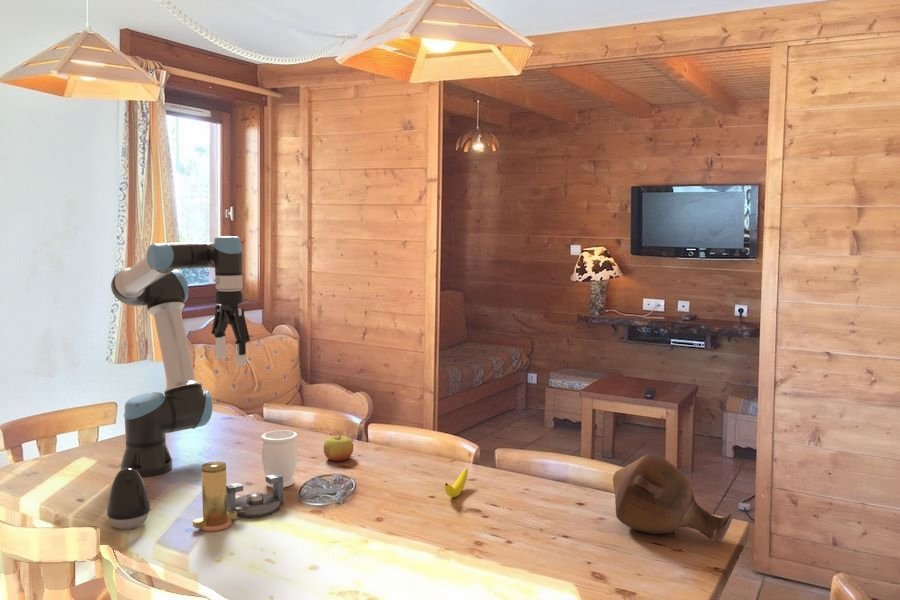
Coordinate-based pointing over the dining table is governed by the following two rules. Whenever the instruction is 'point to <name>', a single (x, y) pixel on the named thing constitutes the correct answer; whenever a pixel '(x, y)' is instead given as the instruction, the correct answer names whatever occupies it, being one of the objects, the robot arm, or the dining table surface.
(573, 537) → the dining table surface
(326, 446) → the apple
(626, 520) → the jug
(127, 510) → the black and white egg
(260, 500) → the grey two-tab base
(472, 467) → the dining table surface
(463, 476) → the banana
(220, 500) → the amber glass cylinder
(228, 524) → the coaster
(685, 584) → the dining table surface
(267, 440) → the jar
